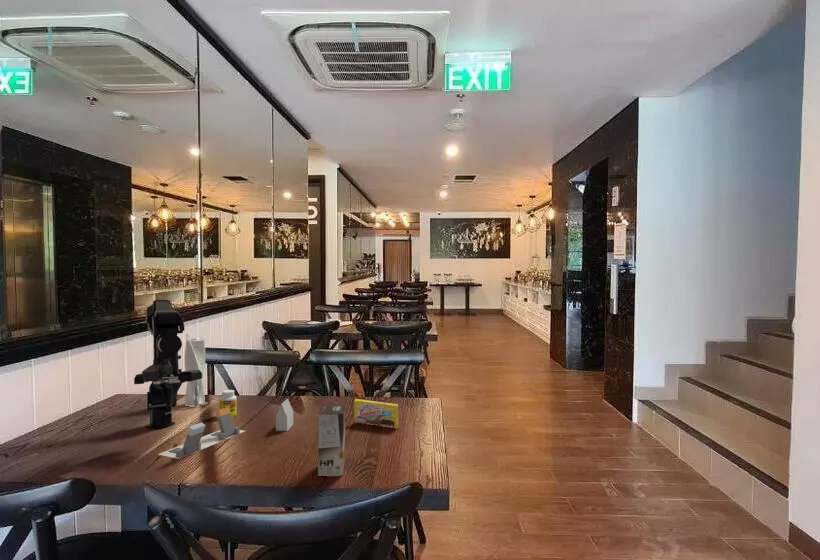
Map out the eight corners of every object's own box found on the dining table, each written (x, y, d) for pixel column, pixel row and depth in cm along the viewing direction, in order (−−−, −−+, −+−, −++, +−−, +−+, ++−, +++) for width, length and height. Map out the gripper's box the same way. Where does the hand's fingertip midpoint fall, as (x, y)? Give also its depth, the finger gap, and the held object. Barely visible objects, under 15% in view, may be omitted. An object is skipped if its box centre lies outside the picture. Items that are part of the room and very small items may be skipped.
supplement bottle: (221, 423, 160) (221, 393, 160) (218, 419, 164) (218, 390, 164) (238, 420, 163) (238, 391, 163) (234, 416, 168) (234, 388, 167)
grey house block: (293, 428, 155) (293, 398, 155) (287, 435, 148) (287, 404, 148) (282, 428, 155) (282, 398, 155) (275, 435, 148) (276, 404, 148)
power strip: (157, 459, 128) (157, 447, 128) (226, 432, 151) (226, 422, 151) (179, 464, 125) (179, 452, 125) (245, 435, 148) (245, 425, 148)
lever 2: (221, 437, 141) (214, 411, 142) (231, 433, 145) (225, 407, 146) (225, 436, 140) (218, 410, 142) (235, 432, 144) (228, 406, 145)
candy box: (353, 423, 161) (353, 400, 161) (356, 422, 163) (356, 398, 163) (396, 430, 155) (396, 405, 155) (398, 428, 157) (399, 403, 157)
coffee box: (343, 476, 118) (343, 413, 118) (317, 477, 118) (318, 414, 118) (345, 462, 127) (345, 403, 127) (321, 462, 127) (321, 404, 127)
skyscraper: (178, 407, 180) (178, 334, 180) (191, 401, 188) (191, 332, 188) (197, 408, 179) (198, 335, 178) (210, 402, 187) (210, 333, 186)
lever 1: (180, 452, 127) (189, 426, 126) (193, 447, 131) (201, 422, 130) (184, 455, 127) (193, 429, 125) (197, 450, 130) (205, 425, 129)
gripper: (119, 358, 133) (120, 413, 132) (178, 354, 130) (180, 411, 129) (146, 354, 144) (148, 405, 143) (202, 350, 141) (204, 402, 140)
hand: (169, 406), depth 138 cm, fingers closed
